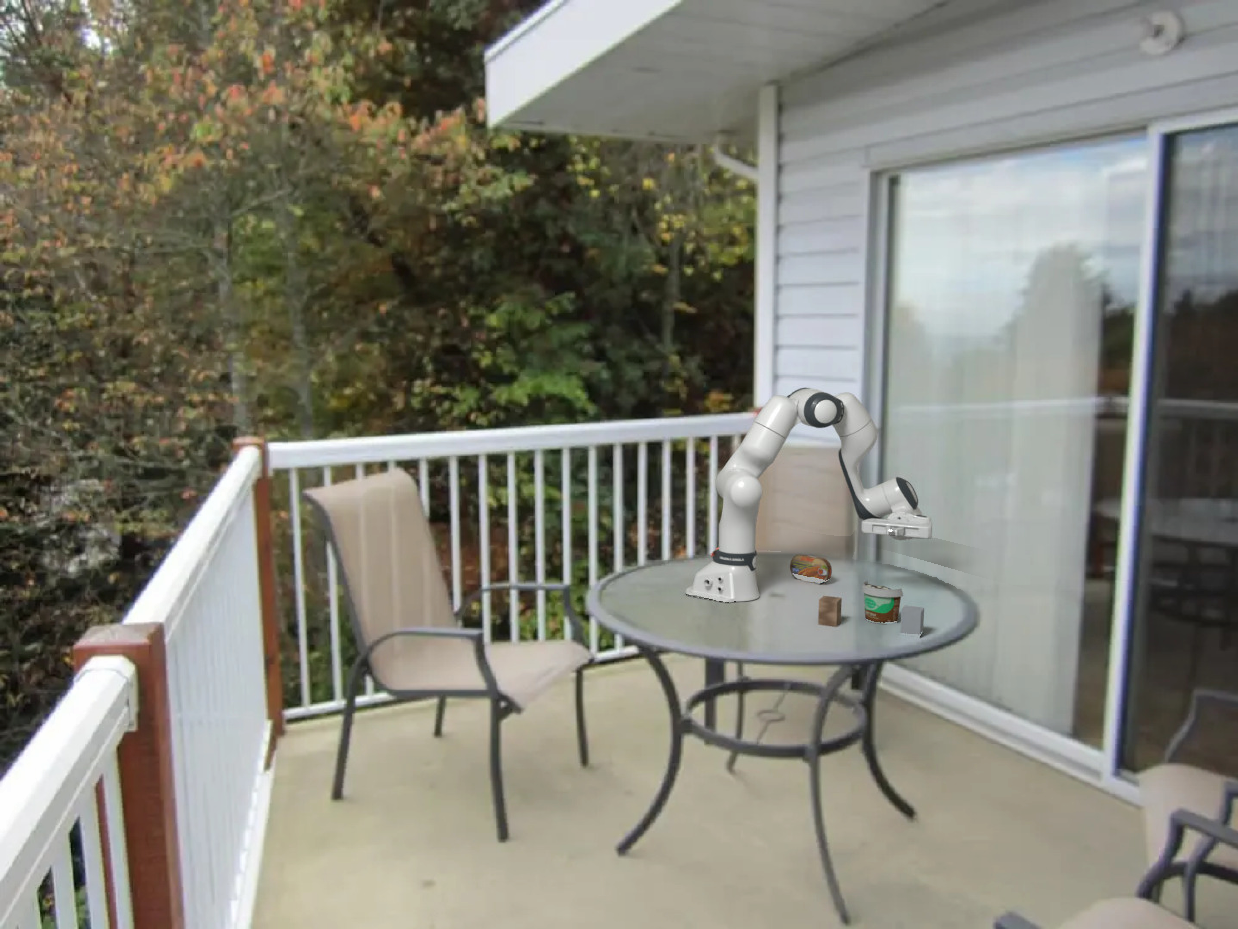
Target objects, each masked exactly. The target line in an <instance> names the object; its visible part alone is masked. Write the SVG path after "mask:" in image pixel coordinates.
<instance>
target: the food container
mask: <svg viewBox="0 0 1238 929" xmlns="http://www.w3.org/2000/svg"><path fill="white" fill-rule="evenodd" d="M868 582H869V581H868V580H865V581H864V582H863V584H862V586H861V591H860V592H862V593H863V602H864V615H865V616H864V617H865V618H866V619H868V620H871V621H874V622H880V623H881V622H883V623H885V622H894V621H897V620H898V621H899V612H900V607H901V606H900V605H901V598H902V597H904V592H903V588H895V589H893V588H889V587H886V586H883V585H873V584H870V583H868ZM865 618H864V619H865ZM866 619H865V620H866Z"/></svg>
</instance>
